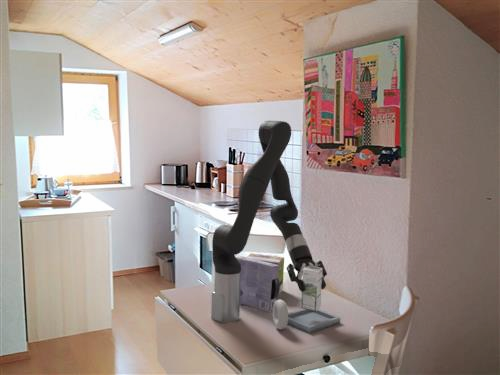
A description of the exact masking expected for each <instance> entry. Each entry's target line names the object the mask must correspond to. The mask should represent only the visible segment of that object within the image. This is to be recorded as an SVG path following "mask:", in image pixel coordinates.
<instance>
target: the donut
mask: <svg viewBox="0 0 500 375" xmlns="http://www.w3.org/2000/svg"><path fill="white" fill-rule="evenodd" d="M288 313H289V309H288V306H287V303H286V301H284V300H283V299H277V301H276V302H275V303H274V306H273V311H272V319H273V324H274V326H275V328H277V330H280V331H281V330H284V329H286V327H287V326H288V324H287V323H288Z"/></svg>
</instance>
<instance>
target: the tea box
mask: <svg viewBox="0 0 500 375" xmlns="http://www.w3.org/2000/svg"><path fill="white" fill-rule="evenodd" d="M246 257H247V258H251V259H255V260H260V261H264V262H268V263H272V264H276V265H279V277H278V278H279V283H280V290H279V294H278V296H279V295H280V294H281V293H282V291H283V290H284V289H283V287H284V274H285V273H284V272H285V271H284V268H285V257H283V256H276V255H266V254H261V253H260V254H259V253H252V252H251V253H250V254H249V255H247V256H246Z"/></svg>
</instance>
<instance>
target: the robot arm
mask: <svg viewBox="0 0 500 375" xmlns="http://www.w3.org/2000/svg"><path fill="white" fill-rule="evenodd" d="M291 137H292V127H291V125H290V123H288V122H287V121H283V120H282V121H281V120H264V121H263V122H261V124H260V125H259V128H258V139H259V144H260V147H261V149H262V152H263V154H262V155H261V156H260V157H259V158H258V159H257V160H256V161H255V162H254V163H253V164H251V166H250V167H249V168H248V169H247V170H246V172H245V174H244V176H243V178H242V180H241V182H240V185H239V188H238V194H237V198H238V199H237V200H238V211H237V215H236V218H235V219H234V220H235V221H234V222H233V225H232V226H231V225H228V224H221V225H219V226H217V227H216V229H214V232H213V235H212V262H213V266H214V286H213V287H214V288H213V289H214V291H212V292H211V312H210V314H211V316H210V317H211V319H213V320H214V321H217V323H220V324H223V323H224V324H225V323H228V324H229V323H235V322H237V321H239V320H240V316H241V315H240V311H241V310H240V309H241V307H240V306H241V303H240V284H241V264H240V262H239V261H238V260H237V259H236V257H237V256H236V255H239V254H241V252H243V251H244V249H245V247H246V245H247V243H248V240H249V237H250V233H251V230H252V228H253V227H252V226H253V224H254V220H255V218H256V216H257V212H258V210H259V207H260V205H261V202H262V200H263V198H264V196H265V194H266V191H267V189H268V187H269V183H270V185H271V186H270V187H271V193H272V198H273V199H274V200H276V201H285V202H286V203H282V204H278V205H274V206H272V207H271V208H270V212H269V216H270V218H271V220H272V222H273V223H274V225H275V226H276V227H277V229H278V230H279V231H280V232H281V235H282V237H283V239H284V240H283V241H285V242H284V243H285V246H286V249H287V252H288V256H289V258H290V259H291V262H292V263H289V264H288V265H287V266H286V272H287V274H288V277H289V280H290V282H292V283H293V282H295V283H296V284H297V287H298V290H299V291H300V292H301V293H302V292H304V291H305V290H306V288H305V286H304V283H303V280H302V276H303V269H304V268H305V267H306V266H313V267H320V268H322V288H321V290H325V289H326V288H327V284H326V281H325V277H326V276H327V275H328V273H327V271H326V268H325V265H324V264H323V261H322V260H319V261H316V262H315V261H314V259H313V255H312V253H311V250H310V248H309V246H308V243H307V241H306V239H305V237H304V235H303V232H302V229H301V227H300V226H299V224H298V223H296V222H293V221H295V220H297V218H298V217H299V211H298V207H297V205H296V203H295V201H294V197H293V195H292V192H291V185H290V184H291V183H290V177H289V175H288V174H289V173H288V171H287V169H286V168H285V165H284V164H283V162H282V160H281V158H282V156H283V154H284V152H285V150H286V148H287V147H288V144H289V143H290V141H291ZM295 271H297V274H296V272H295Z"/></svg>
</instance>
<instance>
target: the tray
mask: <svg viewBox="0 0 500 375" xmlns="http://www.w3.org/2000/svg"><path fill="white" fill-rule="evenodd" d="M339 324H341V316H340V317H339V316H337V315H336V314H335V315H334V314H332V313H329V312H326V311H324V310H322V309H320V308H319V309H318V310H317V311H312V310H307V309H302V308H301V309H297V310H294V311H292V312H288V323H287V325H289V326H291V327H294V328H295V329H297V330H301V331H303V332H304V333H306V334H307V333H308V334H312V333H315V332H318V331H320V330H323V329H327V328H329V327H332V326H336V325H339Z"/></svg>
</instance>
